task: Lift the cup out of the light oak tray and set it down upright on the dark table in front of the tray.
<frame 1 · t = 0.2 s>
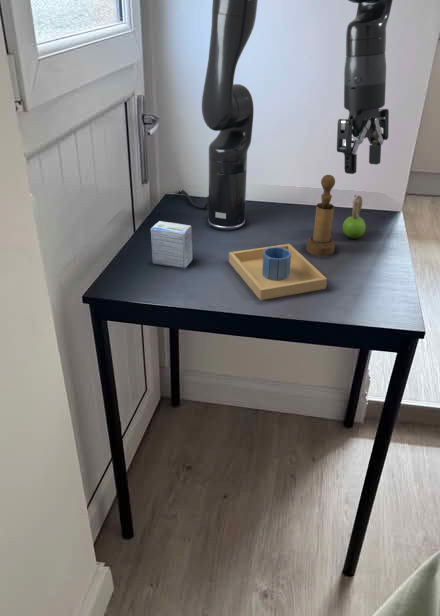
hand: (362, 168, 112), 22 cm above the table, tool pointing down, fingers open, 8 cm apart
mortar and pestle: (319, 251, 131), on the table
medicine box: (172, 263, 125), on the table
green ball with peg: (352, 239, 137), on the table
tray: (275, 276, 120), on the table
cup: (275, 274, 120), resting on tray
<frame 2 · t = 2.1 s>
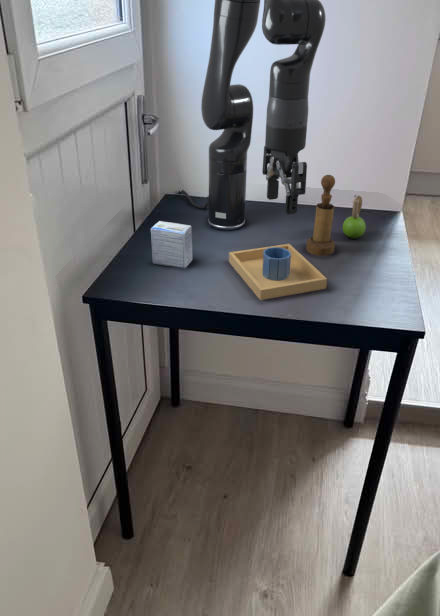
hand: (281, 205, 111), 16 cm above the table, tool pointing down, fingers open, 8 cm apart
nothing on the table moved.
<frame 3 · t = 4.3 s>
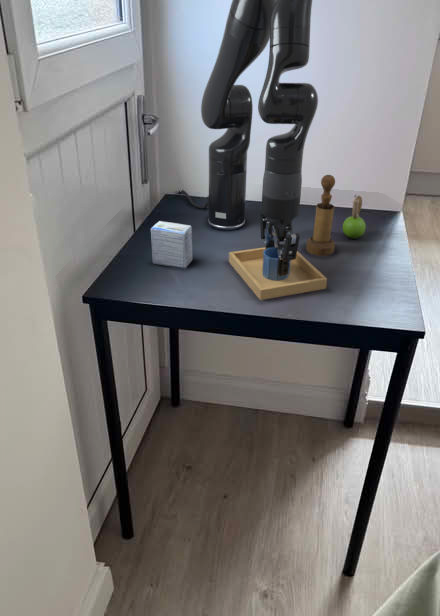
hand: (276, 267, 119), 2 cm above the table, tool pointing down, fingers closed on cup, 5 cm apart
cup: (275, 274, 120), point 1 cm above the table, touching gripper, tray
everything else where it was.
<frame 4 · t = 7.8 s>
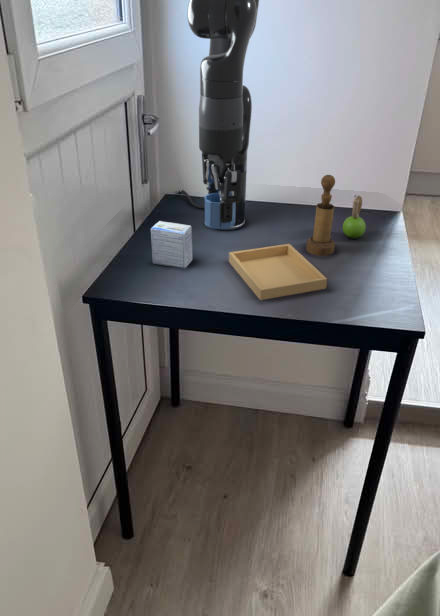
hand: (219, 215, 105), 17 cm above the table, tool pointing down, fingers closed on cup, 5 cm apart
cup: (219, 223, 105), point 15 cm above the table, touching gripper
everything else where it was.
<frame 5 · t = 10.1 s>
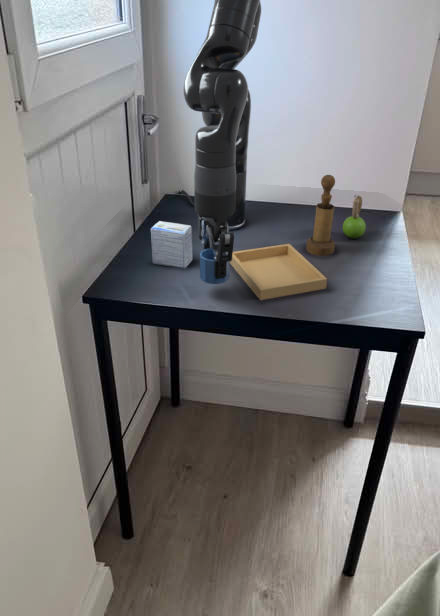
hand: (214, 270, 110), 6 cm above the table, tool pointing down, fingers closed on cup, 5 cm apart
cup: (214, 277, 111), point 4 cm above the table, touching gripper
everything else where it was.
when the fingers open (2 cm above the table, at t = 11.6 s): cup stays where it is, on the table.
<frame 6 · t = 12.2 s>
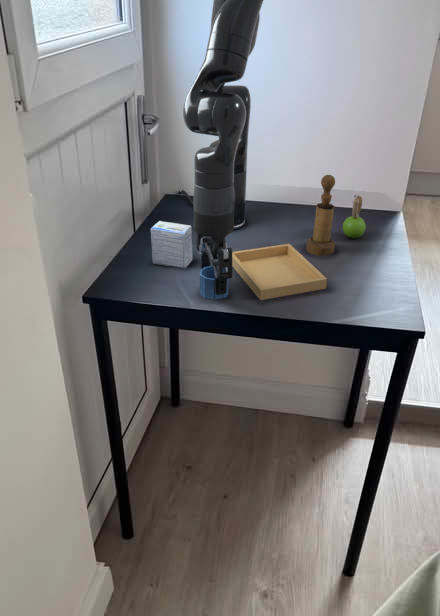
hand: (213, 283, 112), 2 cm above the table, tool pointing down, fingers open, 8 cm apart
cup: (214, 294, 113), on the table
everything else where it was.
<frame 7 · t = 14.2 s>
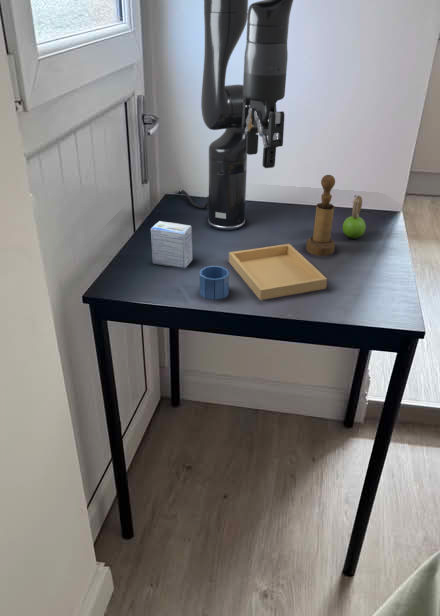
hand: (259, 160, 107), 25 cm above the table, tool pointing down, fingers open, 8 cm apart
nothing on the table moved.
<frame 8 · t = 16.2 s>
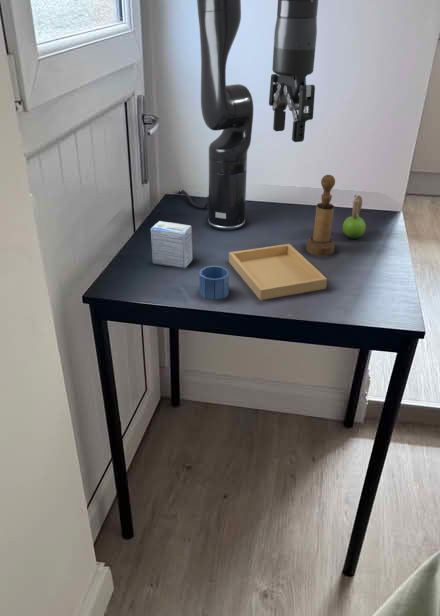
hand: (287, 135, 110), 28 cm above the table, tool pointing down, fingers open, 8 cm apart
nothing on the table moved.
at the end: cup inside the target area (0.1 cm from its centre), on the table; cup tilted 0°; cup touching table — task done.
